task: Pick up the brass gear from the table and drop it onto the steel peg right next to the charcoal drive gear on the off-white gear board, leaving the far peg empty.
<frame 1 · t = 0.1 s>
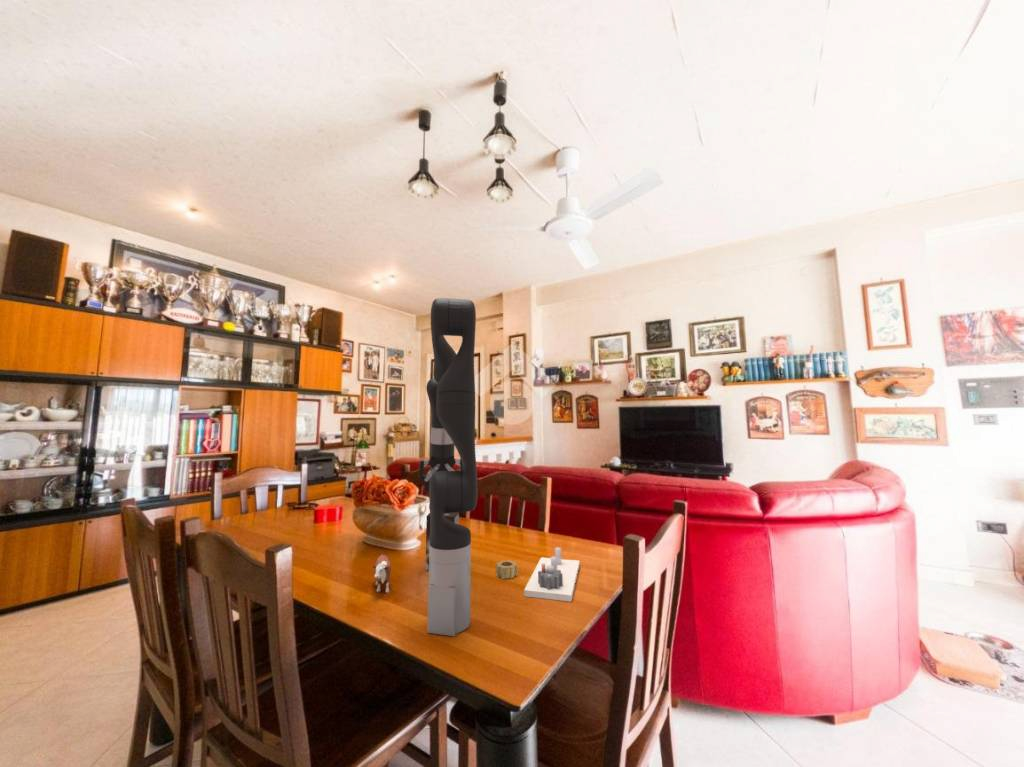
hand: (441, 491, 121), 22 cm above the table, tool pointing down, fingers open, 8 cm apart
coffee box: (441, 567, 117), on the table
gear board: (554, 579, 107), on the table
brass gear: (506, 574, 110), on the table
bull figurine: (382, 589, 102), on the table
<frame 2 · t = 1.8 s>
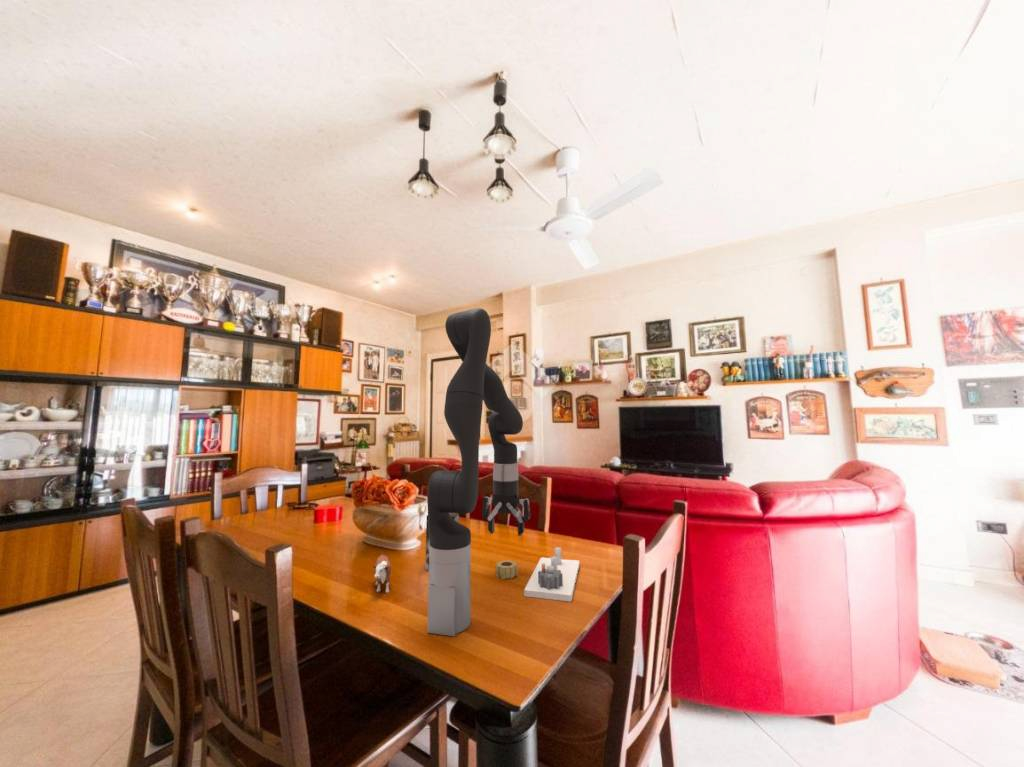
hand: (506, 533, 112), 11 cm above the table, tool pointing down, fingers open, 8 cm apart
nothing on the table moved.
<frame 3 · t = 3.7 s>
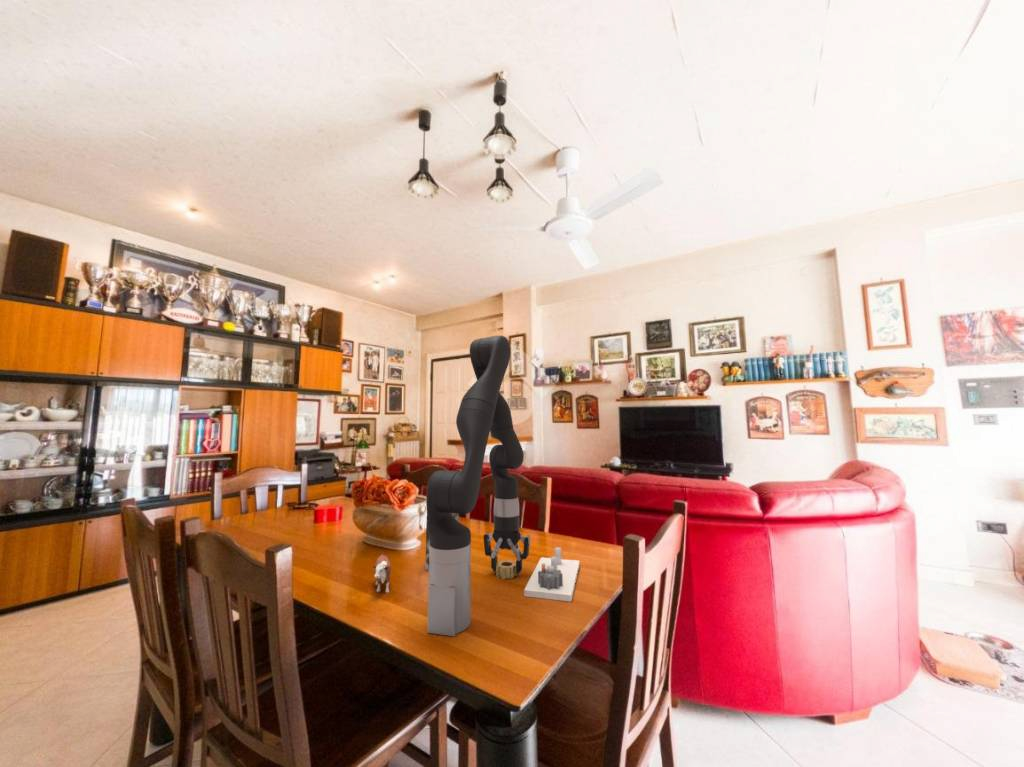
hand: (506, 571, 111), 1 cm above the table, tool pointing down, fingers closed on brass gear, 6 cm apart
brass gear: (506, 574, 110), on the table, touching gripper
everything else where it was.
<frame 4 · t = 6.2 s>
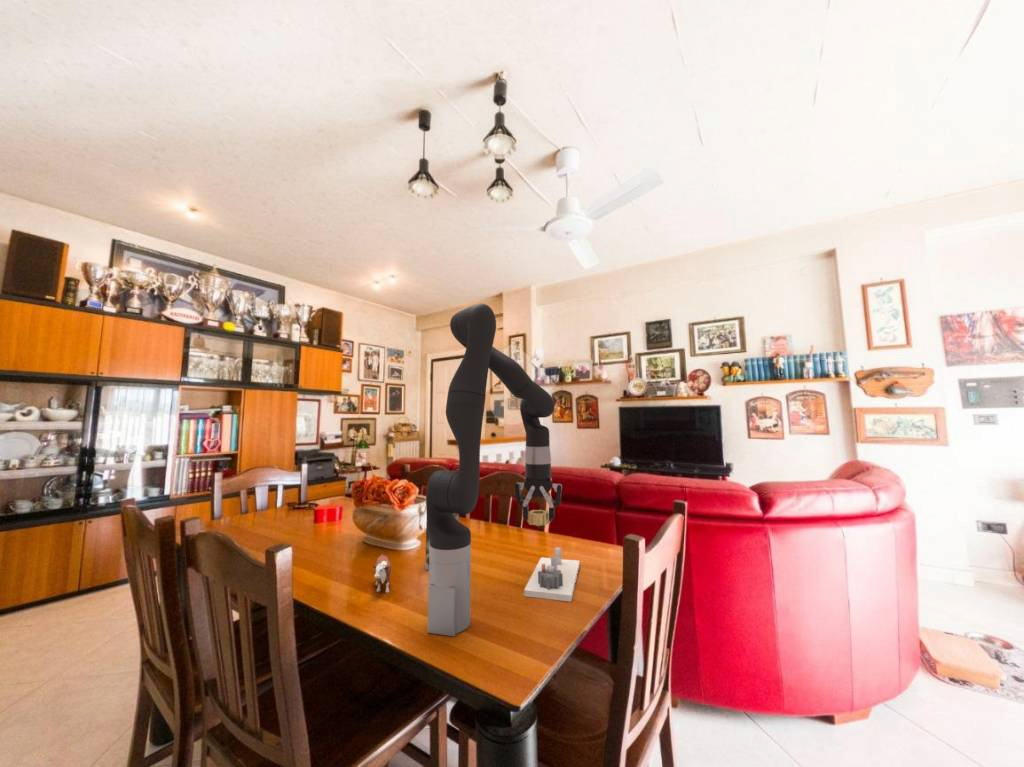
hand: (538, 519, 110), 16 cm above the table, tool pointing down, fingers closed on brass gear, 6 cm apart
brass gear: (538, 522, 110), point 15 cm above the table, touching gripper
everything else where it was.
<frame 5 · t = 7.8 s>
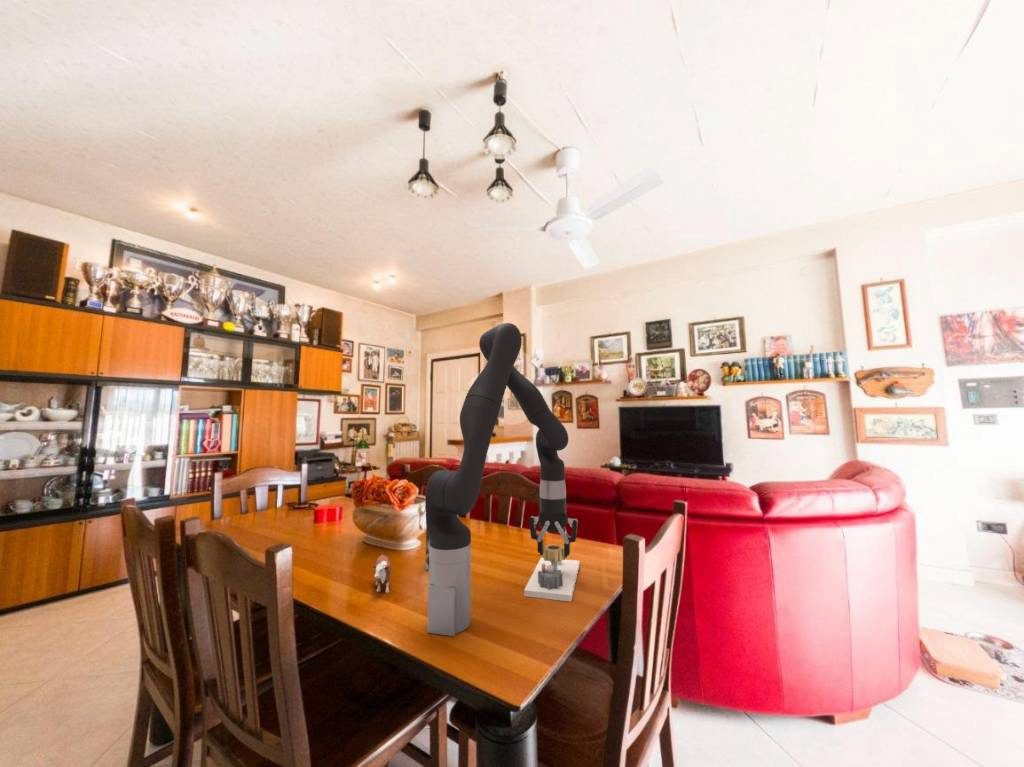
hand: (553, 555, 108), 7 cm above the table, tool pointing down, fingers closed on brass gear, 6 cm apart
brass gear: (553, 558, 108), point 6 cm above the table, touching gripper
everything else where it was.
when the fingers open (5 cm above the table, at t = 9.1 s): brass gear drops 2 cm, resting on gear board.
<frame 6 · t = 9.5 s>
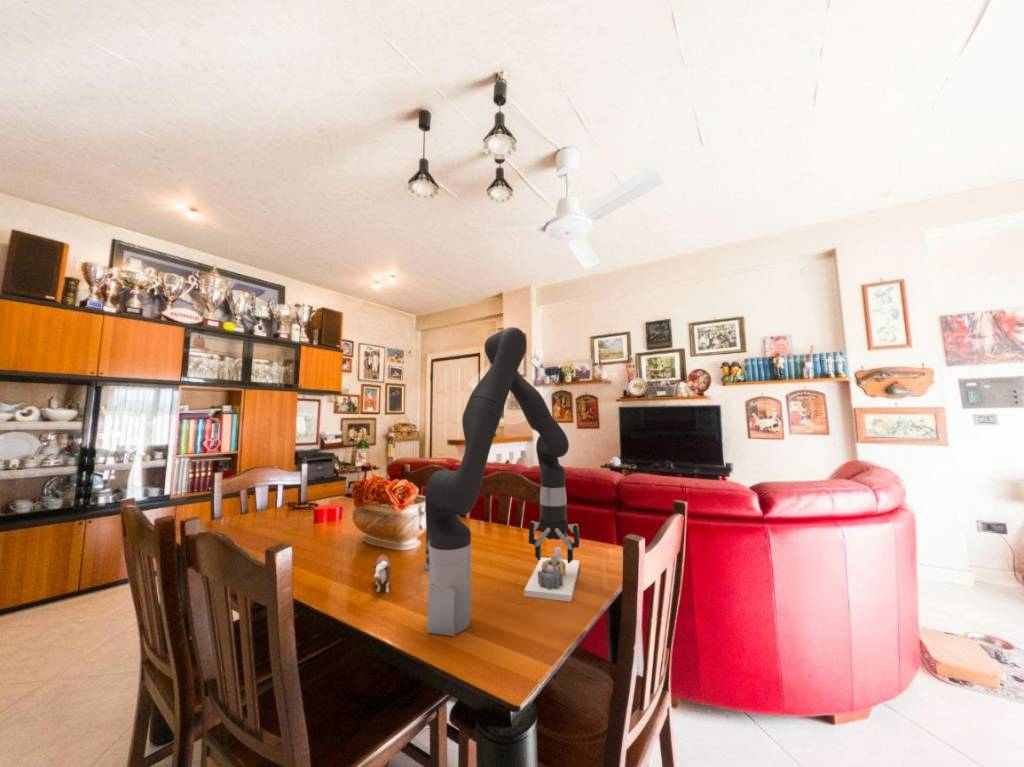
hand: (554, 560, 107), 5 cm above the table, tool pointing down, fingers open, 8 cm apart
brass gear: (554, 573, 107), point 1 cm above the table, touching gear board
everything else where it was.
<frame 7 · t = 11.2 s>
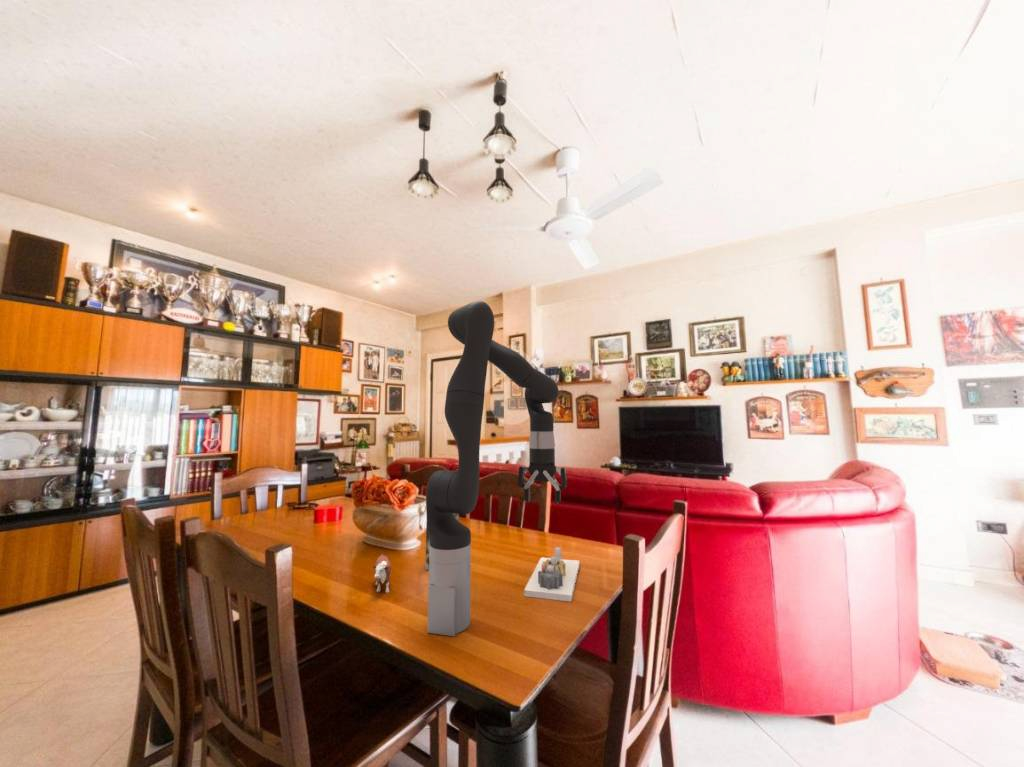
hand: (542, 502, 111), 21 cm above the table, tool pointing down, fingers open, 8 cm apart
nothing on the table moved.
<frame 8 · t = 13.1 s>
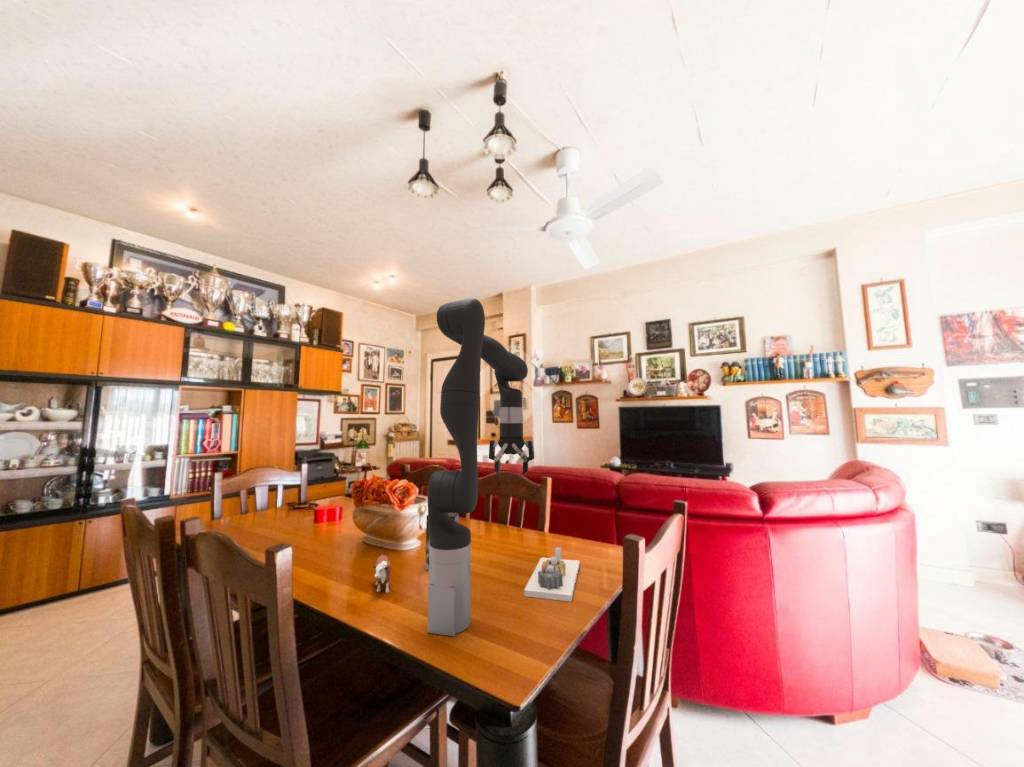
hand: (511, 473, 119), 28 cm above the table, tool pointing down, fingers open, 8 cm apart
nothing on the table moved.
at the end: brass gear 0.1 cm off-centre on the gear board, point 1.5 cm above the gear board's base; brass gear tilted 0°; the gripper is holding nothing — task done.
